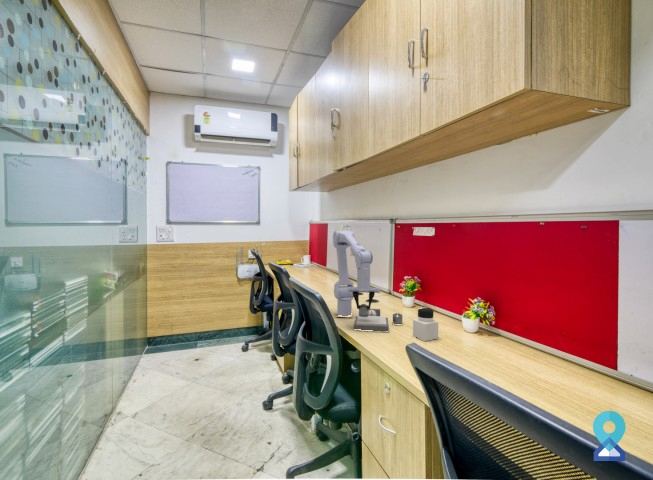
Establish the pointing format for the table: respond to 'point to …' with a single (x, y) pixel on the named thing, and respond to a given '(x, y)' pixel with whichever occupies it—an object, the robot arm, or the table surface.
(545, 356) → the table surface
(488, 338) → the table surface
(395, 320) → the cylinder
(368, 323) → the scale
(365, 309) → the weight
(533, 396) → the table surface
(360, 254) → the robot arm
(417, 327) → the medicine bottle
